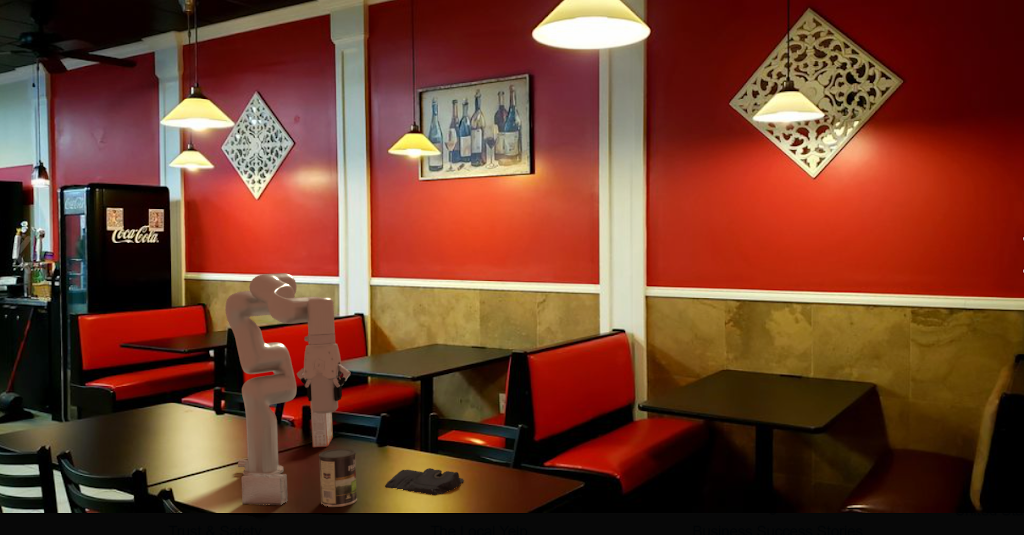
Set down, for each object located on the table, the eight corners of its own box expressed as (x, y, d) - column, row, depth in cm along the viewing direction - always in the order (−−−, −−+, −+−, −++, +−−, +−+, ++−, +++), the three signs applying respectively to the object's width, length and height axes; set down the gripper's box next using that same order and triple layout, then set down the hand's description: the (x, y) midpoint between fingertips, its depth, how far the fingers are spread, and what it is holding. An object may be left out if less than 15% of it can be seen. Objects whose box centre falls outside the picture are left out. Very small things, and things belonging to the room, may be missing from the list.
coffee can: (360, 495, 234) (358, 447, 234) (352, 507, 224) (351, 457, 224) (325, 496, 235) (323, 448, 234) (316, 507, 224) (314, 458, 224)
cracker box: (317, 438, 306) (315, 384, 305) (333, 437, 306) (331, 383, 306) (311, 448, 292) (309, 391, 291) (328, 447, 292) (326, 390, 292)
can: (331, 414, 228) (329, 372, 228) (307, 414, 230) (305, 372, 230) (342, 409, 236) (340, 368, 236) (318, 409, 237) (317, 369, 237)
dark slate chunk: (410, 475, 255) (409, 460, 255) (468, 483, 245) (468, 468, 245) (380, 488, 242) (380, 473, 242) (441, 497, 232) (440, 481, 231)
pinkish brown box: (242, 504, 229) (241, 476, 229) (249, 499, 233) (248, 472, 233) (280, 506, 227) (279, 478, 226) (287, 501, 230) (286, 474, 230)
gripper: (288, 342, 231) (291, 402, 231) (344, 340, 227) (347, 402, 227) (300, 339, 238) (303, 398, 238) (355, 338, 234) (357, 397, 235)
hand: (324, 399), depth 233 cm, fingers closed on can, 7 cm apart
